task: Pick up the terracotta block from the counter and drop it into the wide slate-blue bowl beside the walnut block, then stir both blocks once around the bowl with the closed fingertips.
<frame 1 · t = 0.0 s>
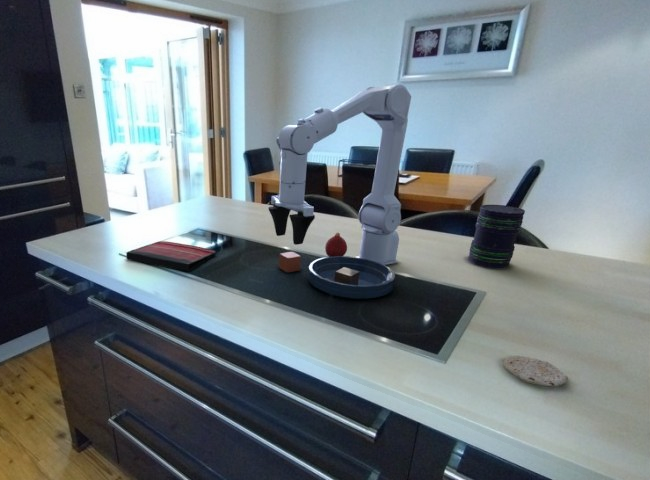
hand: (289, 239, 93), 10 cm above the table, tool pointing down, fingers open, 7 cm apart
walnut block: (345, 287, 90), point 1 cm above the table, touching bowl
storage jar: (487, 263, 107), on the table
binder: (173, 257, 112), on the table
flatbread: (533, 374, 61), on the table
terracotta block: (289, 269, 103), on the table
bowl: (349, 283, 94), on the table
onion: (334, 261, 108), on the table
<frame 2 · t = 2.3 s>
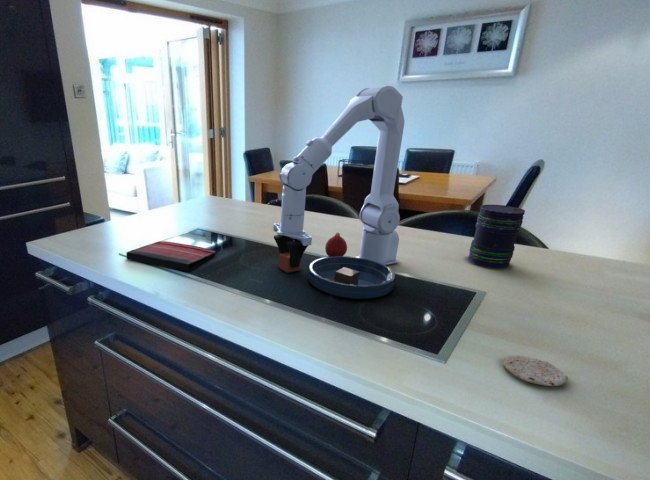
hand: (289, 264, 102), 1 cm above the table, tool pointing down, fingers closed on terracotta block, 4 cm apart
terracotta block: (289, 269, 103), on the table, touching gripper
everything else where it was.
when the fingers open (2 cm above the table, at t = 7.0 s): terracotta block stays where it is, resting on bowl.
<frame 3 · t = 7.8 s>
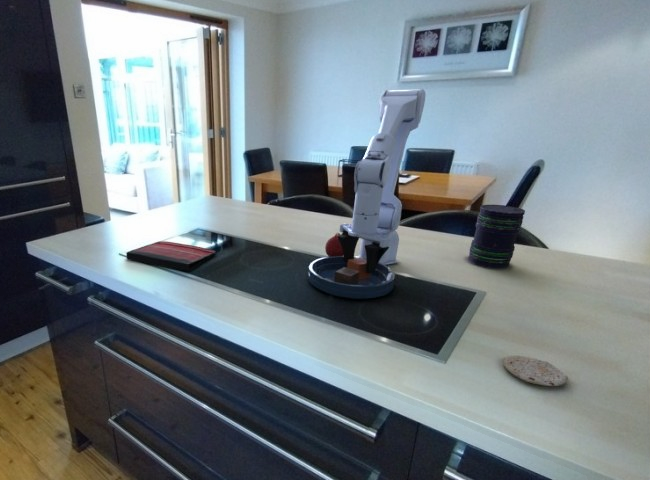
hand: (358, 266, 96), 3 cm above the table, tool pointing down, fingers open, 7 cm apart
terracotta block: (357, 276, 96), point 1 cm above the table, touching bowl
everything else where it was.
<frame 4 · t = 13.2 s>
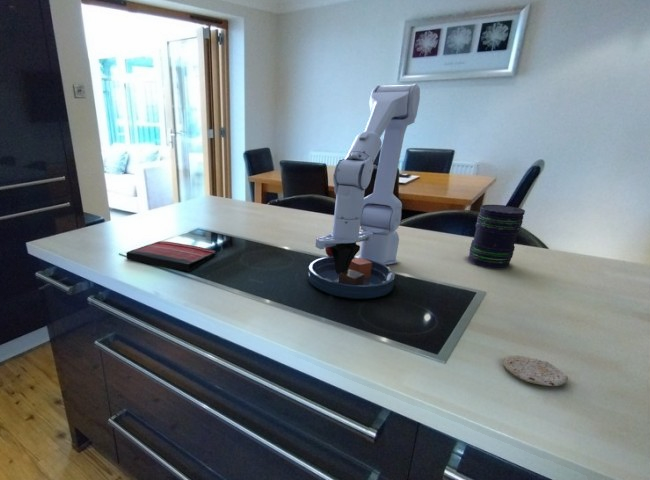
hand: (340, 273, 90), 3 cm above the table, tool pointing down, fingers closed, pressing on walnut block
walnut block: (350, 289, 89), point 1 cm above the table, touching bowl, gripper
everything else where it was.
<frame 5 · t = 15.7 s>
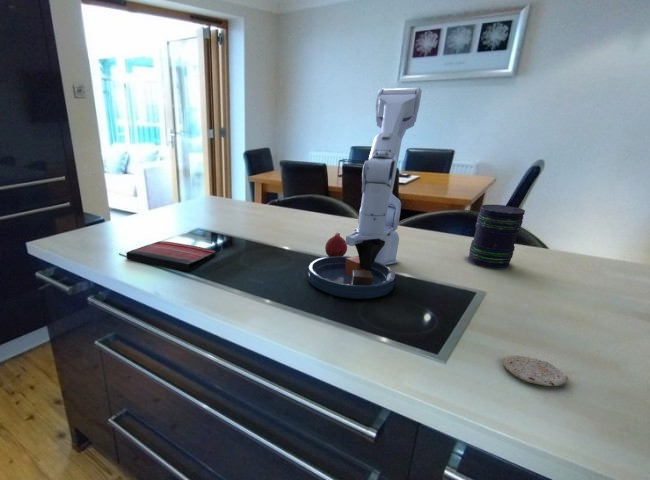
hand: (365, 268, 93), 3 cm above the table, tool pointing down, fingers closed, pressing on terracotta block
walnut block: (360, 289, 89), point 1 cm above the table, touching bowl
terracotta block: (356, 274, 97), point 1 cm above the table, touching bowl, gripper
everything else where it was.
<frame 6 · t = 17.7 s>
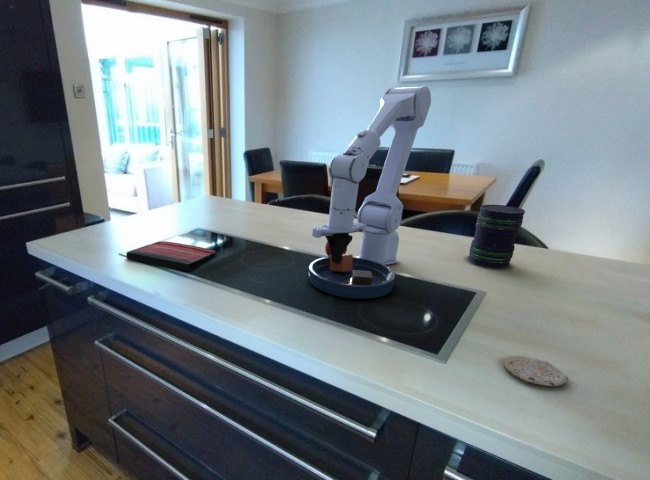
hand: (335, 262, 96), 4 cm above the table, tool pointing down, fingers closed, pressing on terracotta block
terracotta block: (340, 270, 98), point 1 cm above the table, tilted 14°, touching bowl, gripper
everything else where it was.
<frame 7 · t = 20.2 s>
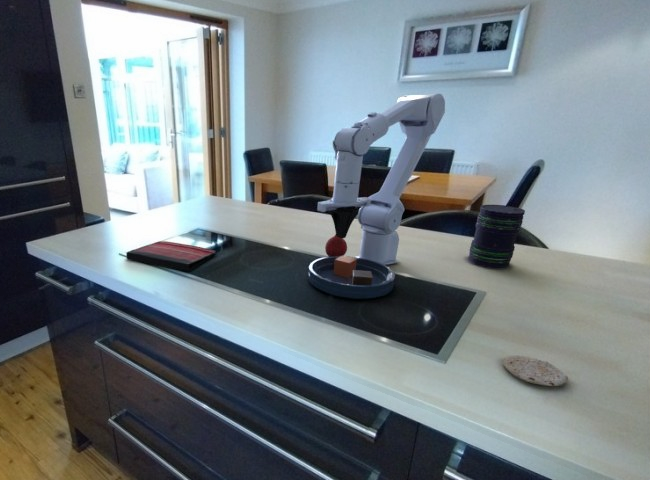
hand: (340, 237, 97), 9 cm above the table, tool pointing down, fingers closed
terracotta block: (344, 274, 98), point 1 cm above the table, touching bowl
everything else where it was.
at the end: terracotta block inside the target area in the bowl (4.3 cm from its centre), point 0.6 cm above the bowl's base; walnut block inside the target area in the bowl (5.3 cm from its centre), point 0.6 cm above the bowl's base; walnut block moved 2.9 cm from its start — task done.
